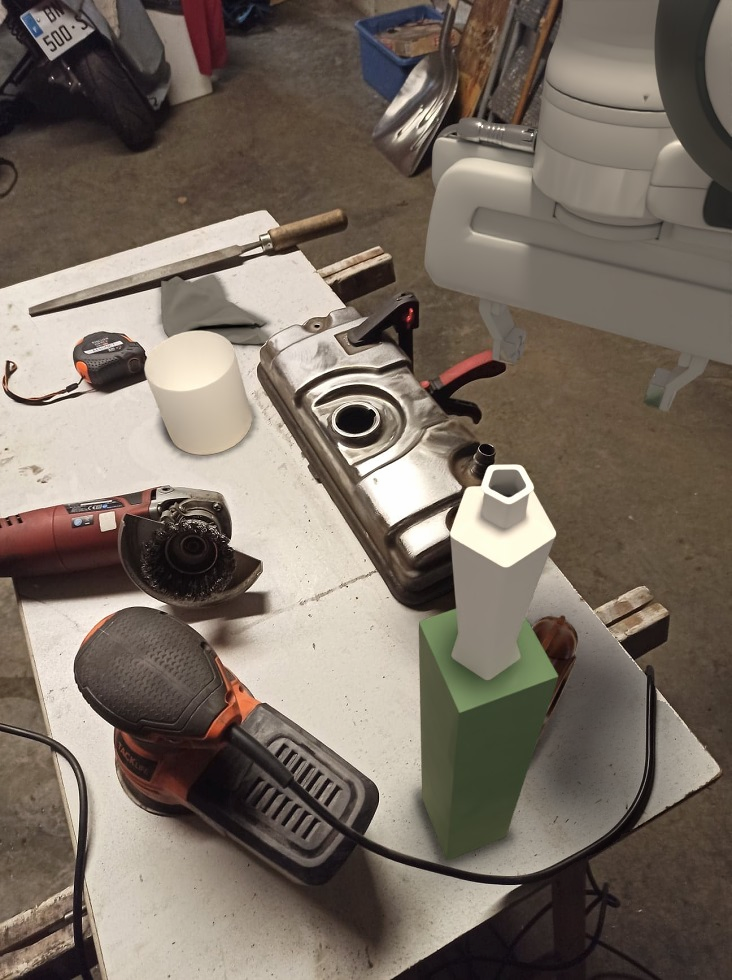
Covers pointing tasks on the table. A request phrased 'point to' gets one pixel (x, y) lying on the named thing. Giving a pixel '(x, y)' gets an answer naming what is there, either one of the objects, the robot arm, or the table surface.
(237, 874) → the table surface
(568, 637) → the brown ribbed piece
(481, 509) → the white faceted bottle
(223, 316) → the cloth
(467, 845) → the block
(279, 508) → the table surface
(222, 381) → the cup
